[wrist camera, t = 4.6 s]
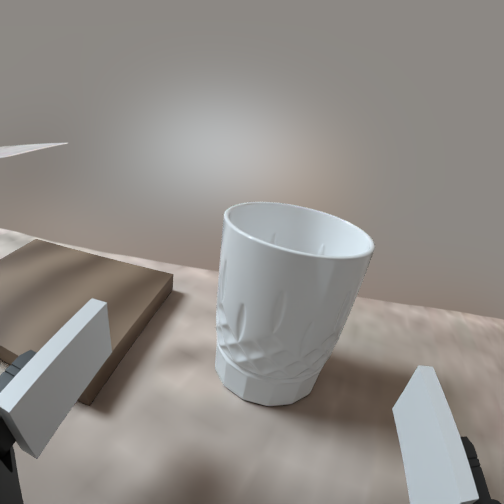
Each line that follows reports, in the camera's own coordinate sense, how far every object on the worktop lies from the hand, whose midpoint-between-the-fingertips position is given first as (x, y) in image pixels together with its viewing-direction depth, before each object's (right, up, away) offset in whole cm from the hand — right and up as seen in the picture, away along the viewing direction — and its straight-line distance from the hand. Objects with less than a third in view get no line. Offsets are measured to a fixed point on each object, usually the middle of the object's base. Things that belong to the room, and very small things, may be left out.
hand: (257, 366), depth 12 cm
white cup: (+1, -3, +8) cm, 9 cm away
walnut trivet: (-16, 0, +9) cm, 18 cm away
